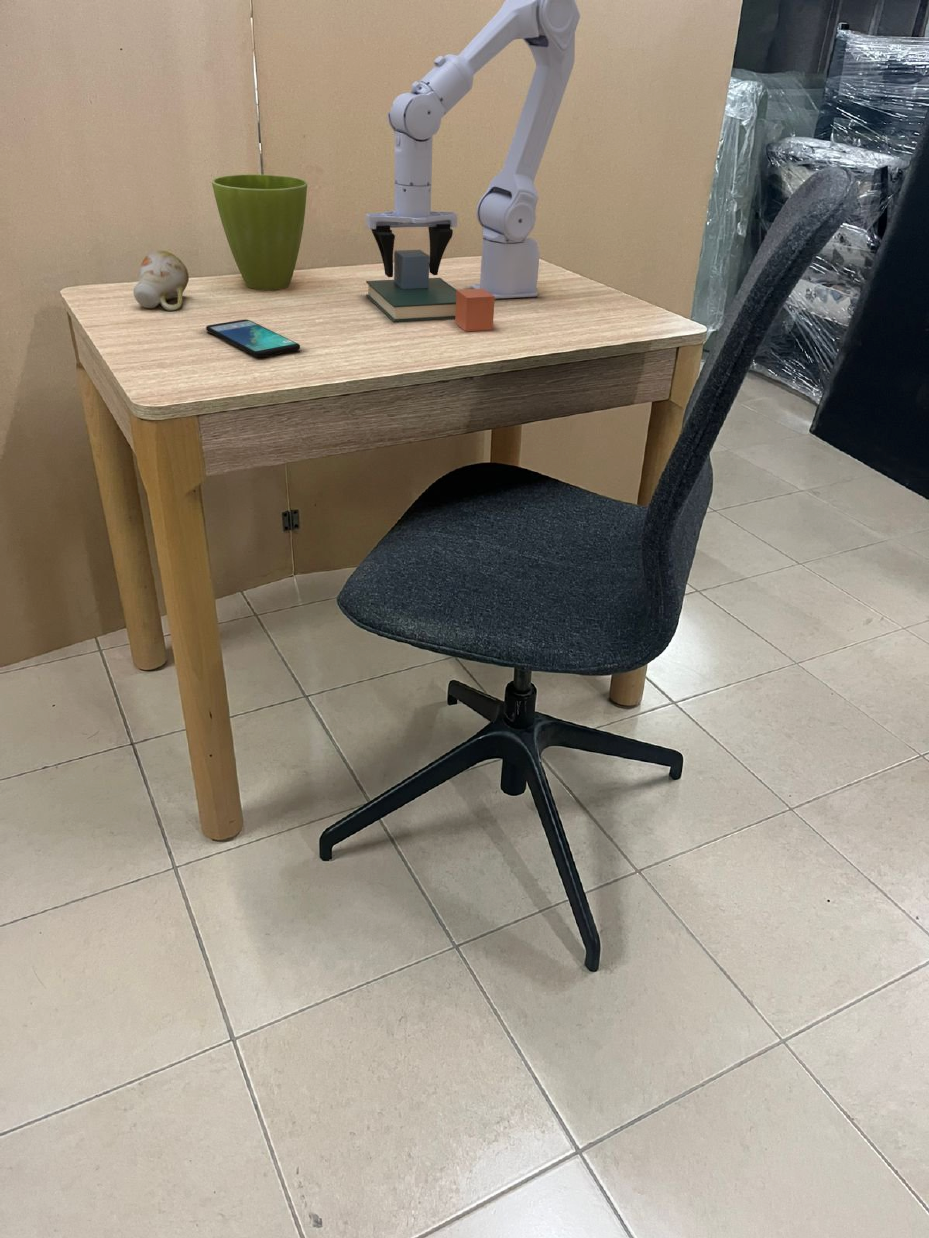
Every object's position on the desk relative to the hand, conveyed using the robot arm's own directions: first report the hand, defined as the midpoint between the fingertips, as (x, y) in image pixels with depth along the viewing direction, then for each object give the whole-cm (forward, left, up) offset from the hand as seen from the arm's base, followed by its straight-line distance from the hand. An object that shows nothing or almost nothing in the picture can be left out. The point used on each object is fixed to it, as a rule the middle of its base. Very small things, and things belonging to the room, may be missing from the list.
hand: (411, 274), depth 147 cm
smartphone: (+29, +16, -4) cm, 33 cm away
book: (0, +4, -4) cm, 5 cm away
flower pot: (+21, -14, -4) cm, 26 cm away
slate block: (0, 0, -2) cm, 2 cm away
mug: (+39, -6, -4) cm, 40 cm away
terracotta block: (-5, +16, -4) cm, 17 cm away
